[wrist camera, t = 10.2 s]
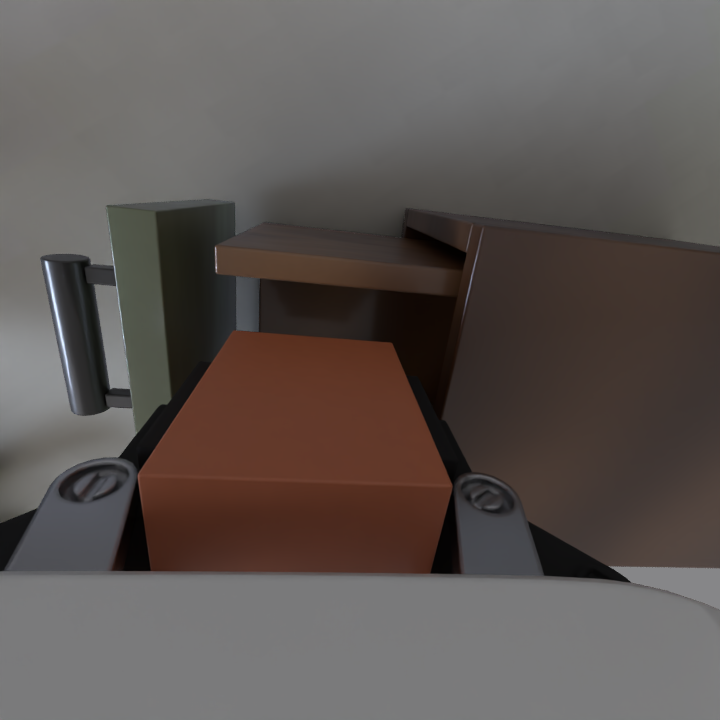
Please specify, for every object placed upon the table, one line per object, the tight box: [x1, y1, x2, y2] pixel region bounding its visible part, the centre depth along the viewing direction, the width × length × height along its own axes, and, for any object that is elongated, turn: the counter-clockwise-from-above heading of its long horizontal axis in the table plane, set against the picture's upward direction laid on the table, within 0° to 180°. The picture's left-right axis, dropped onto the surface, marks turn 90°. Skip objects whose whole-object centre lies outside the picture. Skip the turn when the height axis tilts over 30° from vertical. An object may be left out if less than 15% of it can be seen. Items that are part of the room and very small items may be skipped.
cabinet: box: [401, 208, 720, 568], centre depth 17 cm, size 15×12×11 cm
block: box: [138, 330, 453, 574], centre depth 9 cm, size 4×4×6 cm
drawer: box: [40, 199, 467, 435], centre depth 16 cm, size 18×10×9 cm, turn 84°
